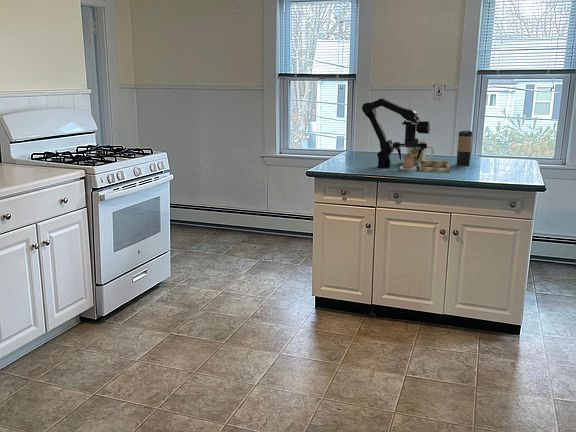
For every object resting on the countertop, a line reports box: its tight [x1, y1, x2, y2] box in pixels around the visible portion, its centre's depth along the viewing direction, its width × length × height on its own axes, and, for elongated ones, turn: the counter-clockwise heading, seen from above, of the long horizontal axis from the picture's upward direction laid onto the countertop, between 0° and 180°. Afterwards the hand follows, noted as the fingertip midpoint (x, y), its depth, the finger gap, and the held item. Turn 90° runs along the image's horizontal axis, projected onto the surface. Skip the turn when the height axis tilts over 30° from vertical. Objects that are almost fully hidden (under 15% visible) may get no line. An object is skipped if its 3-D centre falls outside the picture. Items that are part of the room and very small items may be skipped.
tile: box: [399, 165, 418, 171], centre depth 323 cm, size 9×9×1 cm
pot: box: [402, 152, 415, 168], centre depth 321 cm, size 7×7×9 cm
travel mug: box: [456, 130, 473, 167], centre depth 332 cm, size 8×8×20 cm
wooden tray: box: [417, 160, 451, 173], centre depth 320 cm, size 16×16×4 cm
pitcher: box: [403, 139, 435, 165], centre depth 340 cm, size 11×18×14 cm, turn 81°
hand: (408, 160), depth 321 cm, fingers open, 9 cm apart
